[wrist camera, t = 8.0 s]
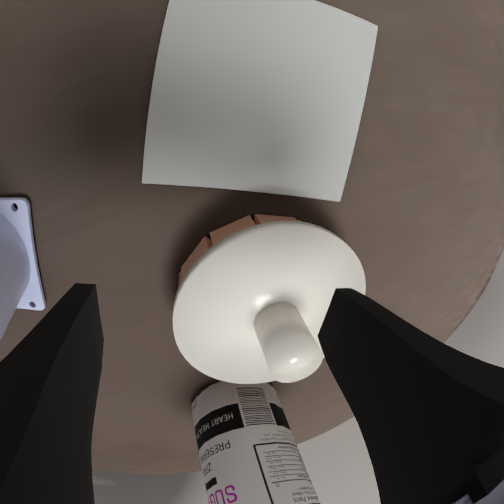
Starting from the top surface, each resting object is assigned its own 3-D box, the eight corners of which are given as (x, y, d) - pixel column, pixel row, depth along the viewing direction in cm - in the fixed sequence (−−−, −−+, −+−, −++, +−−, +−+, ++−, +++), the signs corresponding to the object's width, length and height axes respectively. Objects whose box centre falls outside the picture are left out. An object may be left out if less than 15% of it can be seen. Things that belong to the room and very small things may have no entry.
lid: (171, 378, 20) (177, 432, 16) (178, 212, 14) (182, 259, 10) (326, 367, 23) (349, 409, 19) (383, 229, 18) (429, 266, 14)
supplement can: (274, 410, 30) (322, 532, 17) (198, 425, 28) (228, 555, 16) (274, 364, 26) (339, 519, 13) (181, 382, 24) (212, 550, 12)
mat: (142, 181, 16) (141, 183, 16) (176, -26, 11) (177, -28, 10) (336, 199, 19) (339, 201, 19) (374, 26, 14) (378, 26, 14)
